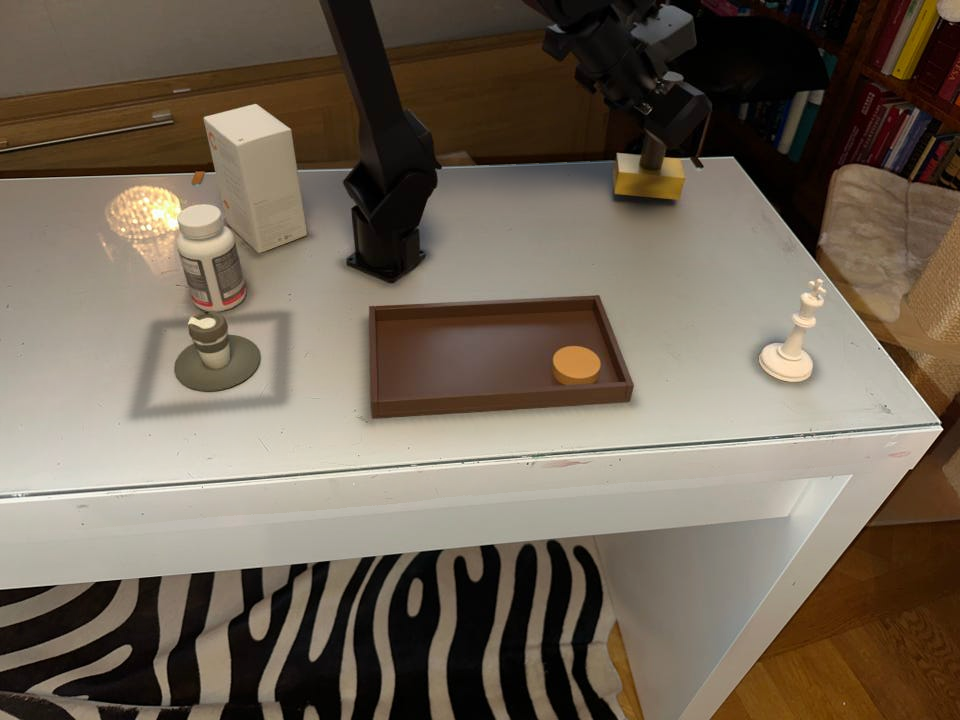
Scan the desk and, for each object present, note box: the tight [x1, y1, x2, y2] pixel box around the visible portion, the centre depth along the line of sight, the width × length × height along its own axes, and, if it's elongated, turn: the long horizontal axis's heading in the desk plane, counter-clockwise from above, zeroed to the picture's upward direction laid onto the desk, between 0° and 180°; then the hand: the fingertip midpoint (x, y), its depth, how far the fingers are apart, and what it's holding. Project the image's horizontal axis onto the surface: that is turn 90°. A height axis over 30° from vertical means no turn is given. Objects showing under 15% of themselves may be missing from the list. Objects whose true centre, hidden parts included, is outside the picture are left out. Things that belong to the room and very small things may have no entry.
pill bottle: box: [176, 203, 247, 313], centre depth 74 cm, size 5×5×10 cm
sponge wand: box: [612, 70, 686, 201], centre depth 89 cm, size 8×5×14 cm, turn 85°
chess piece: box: [758, 278, 828, 383], centre depth 69 cm, size 5×5×10 cm
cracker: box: [552, 346, 601, 385], centre depth 69 cm, size 4×4×1 cm
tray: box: [368, 294, 635, 419], centre depth 71 cm, size 23×13×2 cm, turn 97°
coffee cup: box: [173, 311, 261, 392], centre depth 68 cm, size 12×12×5 cm
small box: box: [203, 103, 308, 254], centre depth 82 cm, size 8×6×13 cm
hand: (670, 130), depth 90 cm, fingers closed on sponge wand, 3 cm apart
